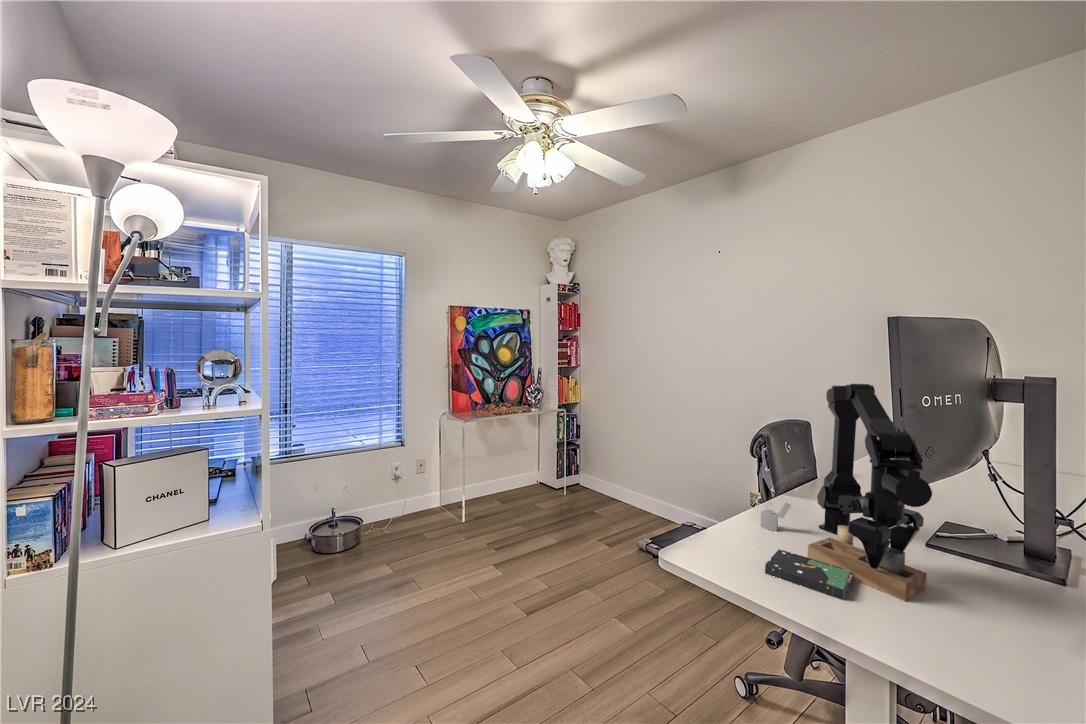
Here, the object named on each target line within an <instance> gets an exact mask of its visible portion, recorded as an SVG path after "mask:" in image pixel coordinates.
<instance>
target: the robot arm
mask: <svg viewBox="0 0 1086 724" xmlns="http://www.w3.org/2000/svg"><path fill="white" fill-rule="evenodd" d="M874 387H875V386H874V385H872V384H869V383H850V384H847V385H832V386H831V388H829V389H827V390H826V396H825V397H826V401H827V408H828V409H829V410H830V413H832V416H833V417H834V424H833V425H834V427H833V428H834V429H833V445H832V464H831V470H830V471H829V472H828V474H827V475H826V476H825V477H824V480H823V485H822V486H821V488H820V489H819V491H818V494H817V496H816V497H817V499H816V500H817V504H818V505H819V506H820V507H821V508H822V509H824V522H823V524H819V525H818V528H819V529H821V530H824V531H827V532H830V533H833V534H835V535H837V531H838V526H839V525H844V526H848V532H849V533H851V534H852V535H853V538H857V539H858V540H859V541H860V543H862V546H863V550H865V552H866V555H867V558H868V561H869V564H870V567H872V568H874V569H877V568H878V566H879V564H880V562H881V560H882V558H883V556H884V554H885V552H886V550H887V548H888V547H891V548H894V549H897V550H900V551H902V552H905V550H906V549H907V547H908V546H909V544H910V543H911V542H912V540H913V539H914V538H915V536H916V535H917V534H918V533H919V532H920V531H921V528H922V527H924V519H925V518H924V517H923V515H922V514H921V513H920V512H919V511H915V510H912V509H908V508H906V506H907V507H911V508H919V507H923V506H925V505H926V504H928V503H929V502H930V501H931V498H932V496H933V490H932V488H931V486H930V485H929V483H928V482H927V481H926V480H924V479H923V478H921V472H920V471H922V470H923V468H924V467H923V465H922V463H923V462H924V461H923V459H922V456H921V454H920V451H919V449H918V447H917V445H916V443H915V440H914V438H913V437H912V435H910V433H909V431H907V430H906V429H905V430H904V431H903V432H901V431H900V429H899V430H898V428H897V432H896V428H895V437H894V426H893V421H892V420H891V418H890V416H889V415H888V413H887V411H886V410H885V408H884V407H883V405H882V403H881V401H880V400H879V398H878V396H877V395H876V394H875V393H876V391H875V389H876V388H874ZM858 419H860V420H861V421H862V423H863V426H864V428H865V429H866V435H865V439H864V445H865V449H866V452H867V454H868V456H869V458H870V459H869V463H870V464H871V476H870V477H871V478H870V491H868V492H865V493H864V495H862V491H861V489H862V487H861V485H860V484H859V483H858V481H857V480H856V478H855V476H854V463H855V448H856V433H857V432H856V431H857V421H858ZM895 445H896V446H895ZM895 448H896V454H895ZM895 456H896V458H897V459H896V458H895ZM851 514H862V517H858V518H856V519H852V520H851Z"/></svg>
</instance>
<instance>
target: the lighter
mask: <svg viewBox="0 0 1086 724" xmlns="http://www.w3.org/2000/svg"><path fill="white" fill-rule="evenodd" d="M791 507H792V505H791V504H790V503H789V502H787V501H786V502H785V503H784V505H782V508H781V509H780V511H779V512H778V513H775V511H774V509H772V508H771V509H770V508H765V509H764V510H760V522H759V523H760V524H759V525H760V526H759V527H762V528H765V529H764V530H767V529H770V530H769V531H772V530H774V531H773V532H778V528H779V519H780V518H781V519H784V518H785V516H786V514H787V513H788V511H790V508H791ZM762 528H761V529H762Z"/></svg>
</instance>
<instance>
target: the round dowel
mask: <svg viewBox="0 0 1086 724" xmlns="http://www.w3.org/2000/svg"><path fill="white" fill-rule="evenodd" d="M836 536H837V537H836V540H839V541H841V542H844V543H847V544H849V545H852V546H854V536H853V535H852V534H851V533H849V532H848V526H844V525H839V526H838V531H837V534H836Z"/></svg>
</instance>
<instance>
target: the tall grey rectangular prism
mask: <svg viewBox="0 0 1086 724" xmlns="http://www.w3.org/2000/svg"><path fill="white" fill-rule="evenodd" d="M905 562H906V552H905V551H904V552H902V551H900V550H897V549H894V548H891V546H888V548H887V550H886V552H885V554H884V556H883V558H882V560H881V562H880V564H879V566H878V567H879V568H882V569H884V570H887V571H889V572H892V573H894V574H897V575H900V576H902V577H904V568H905V565H906V563H905ZM866 563H869V561H868V558H867V555H866Z"/></svg>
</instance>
